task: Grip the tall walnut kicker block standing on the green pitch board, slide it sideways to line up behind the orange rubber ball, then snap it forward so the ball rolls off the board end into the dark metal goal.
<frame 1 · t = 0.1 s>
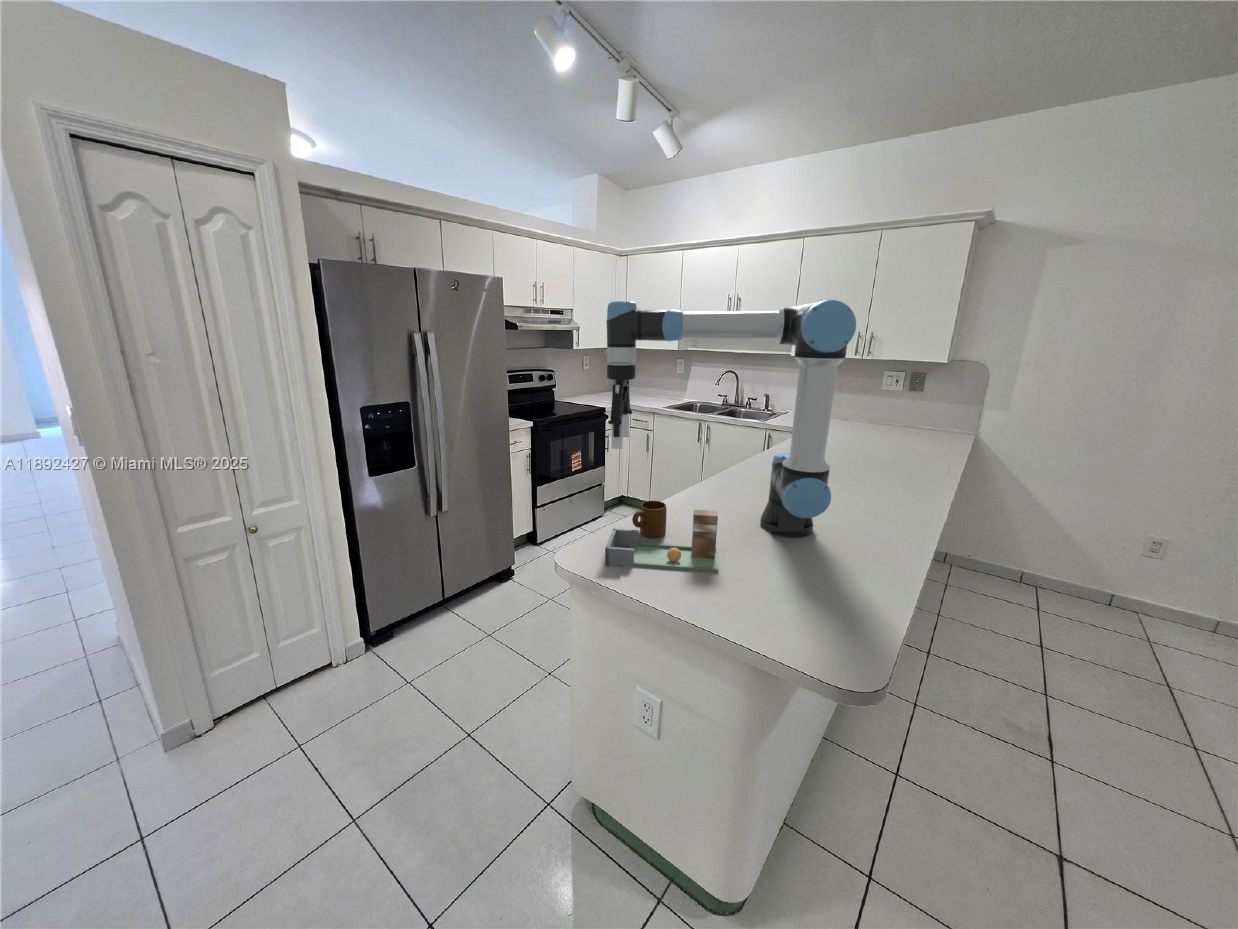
hand: (620, 442, 127), 28 cm above the worktop, fingers open, 13 cm apart
pitch: (662, 559, 122), on the worktop
mug: (647, 537, 134), on the worktop
ball: (674, 554, 119), point 2 cm above the worktop, touching pitch
kicker: (703, 554, 123), point 1 cm above the worktop, touching pitch
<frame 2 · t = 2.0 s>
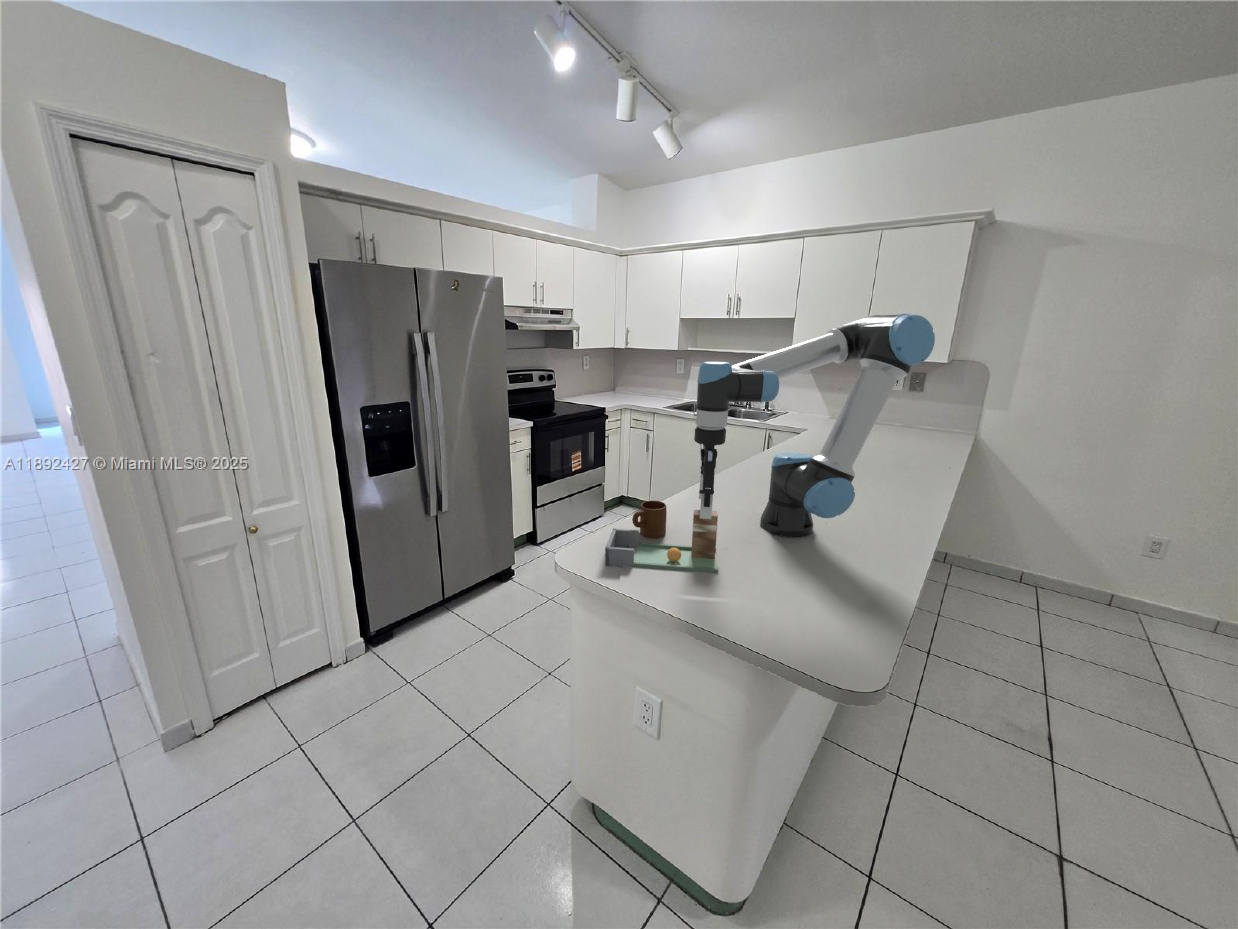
hand: (704, 508, 119), 14 cm above the worktop, fingers open, 13 cm apart
nothing on the worktop moved.
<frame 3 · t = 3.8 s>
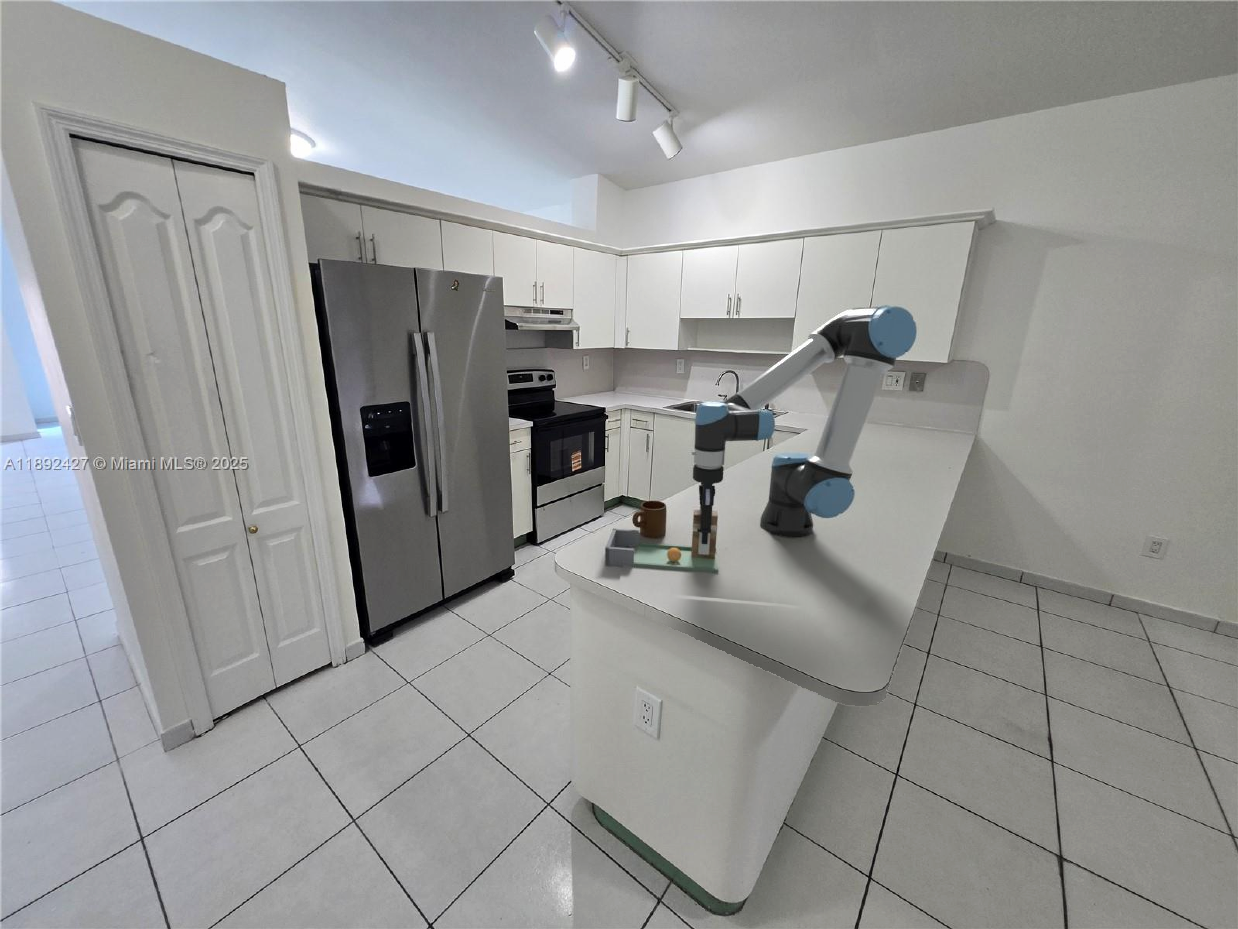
hand: (703, 549, 122), 2 cm above the worktop, fingers closed on kicker, 4 cm apart
kicker: (703, 554, 123), point 1 cm above the worktop, touching gripper, pitch
everything else where it was.
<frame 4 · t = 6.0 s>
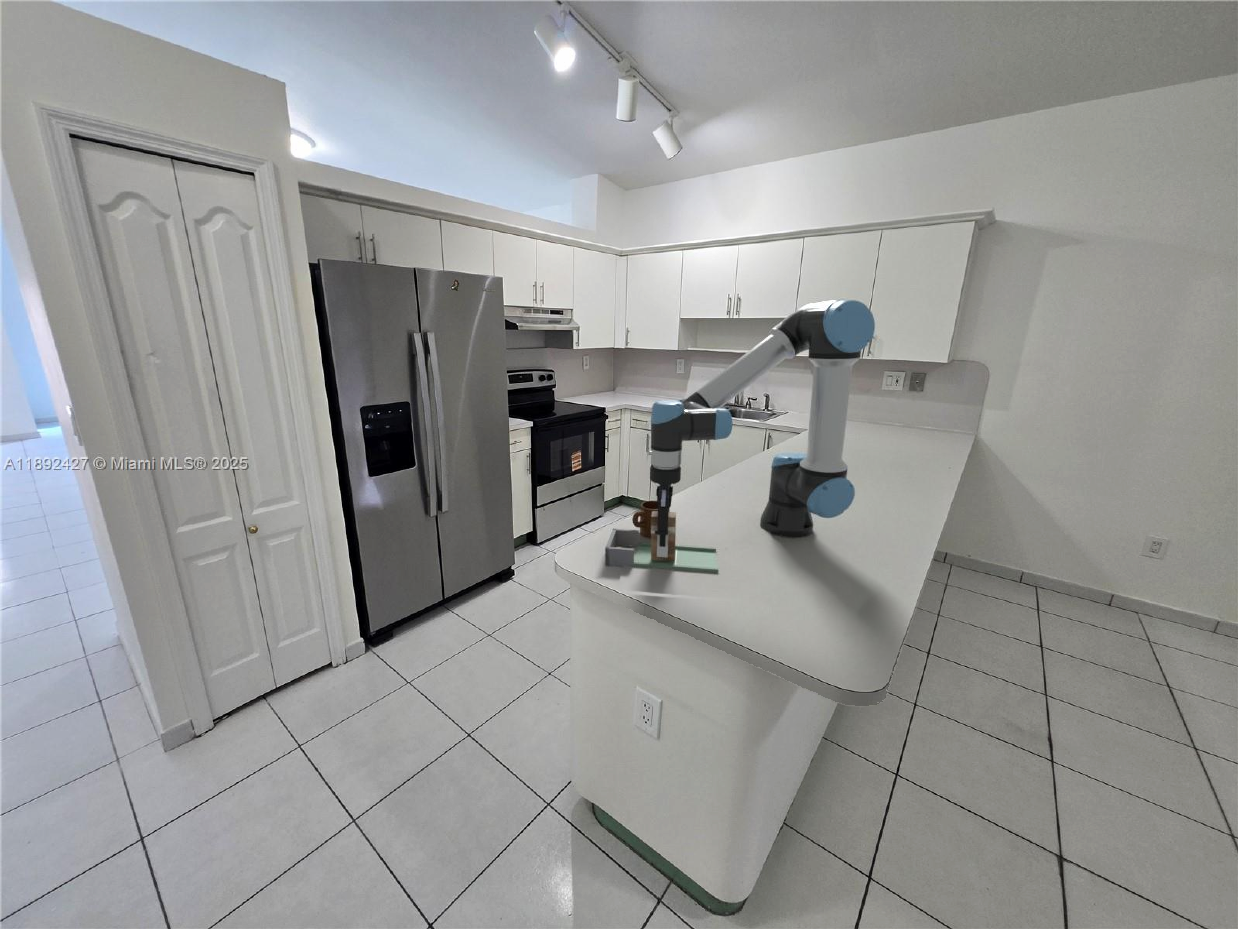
hand: (662, 552, 119), 3 cm above the worktop, fingers closed on kicker, 4 cm apart
ball: (618, 554, 120), point 2 cm above the worktop, tilted 64°
kicker: (663, 557, 119), point 1 cm above the worktop, touching gripper
everything else where it was.
when the fingers open (3 cm above the worktop, at t = 7.9 s): kicker stays where it is, resting on pitch.
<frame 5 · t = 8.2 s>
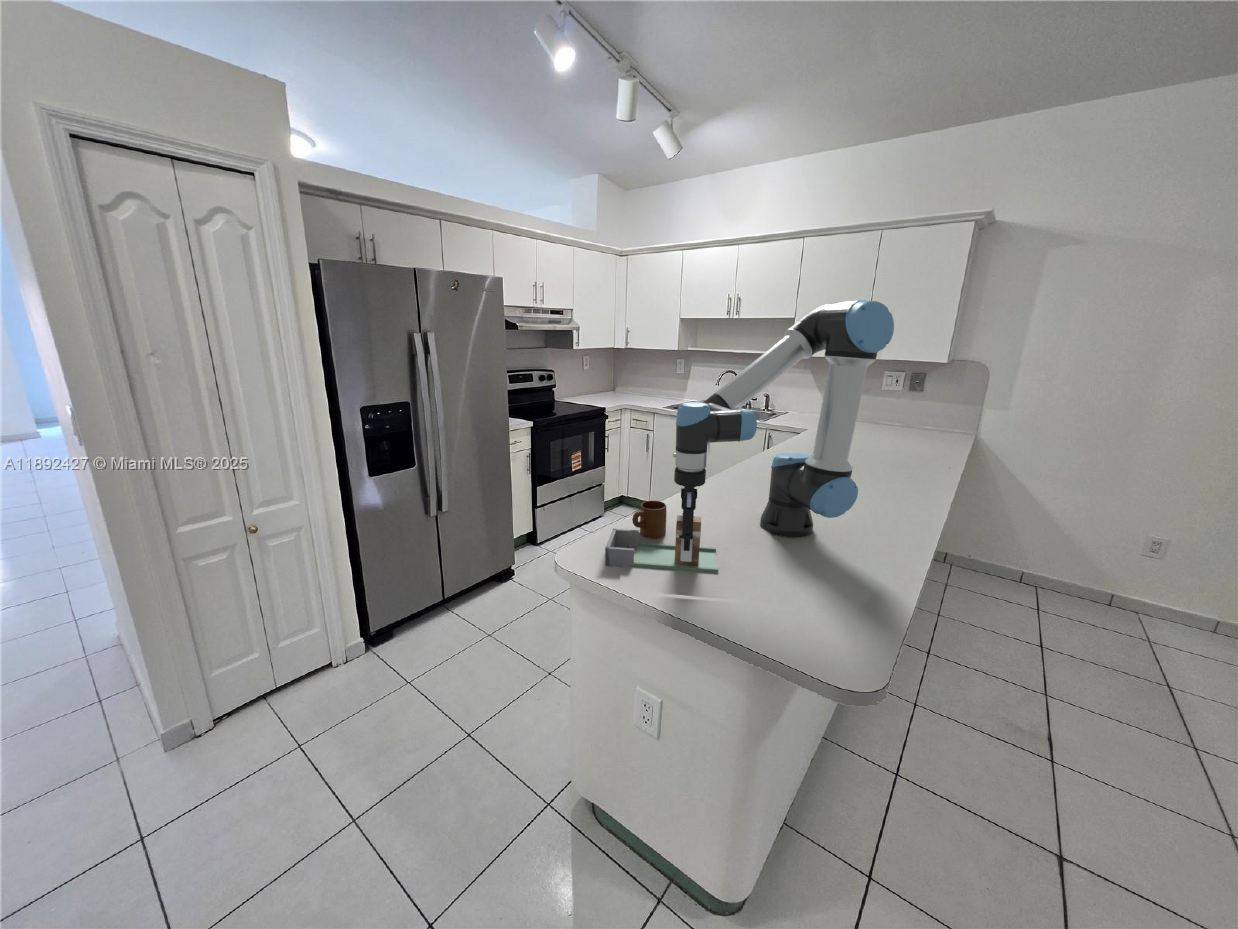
hand: (686, 552, 118), 3 cm above the worktop, fingers open, 8 cm apart
kicker: (686, 561, 119), point 1 cm above the worktop, touching pitch
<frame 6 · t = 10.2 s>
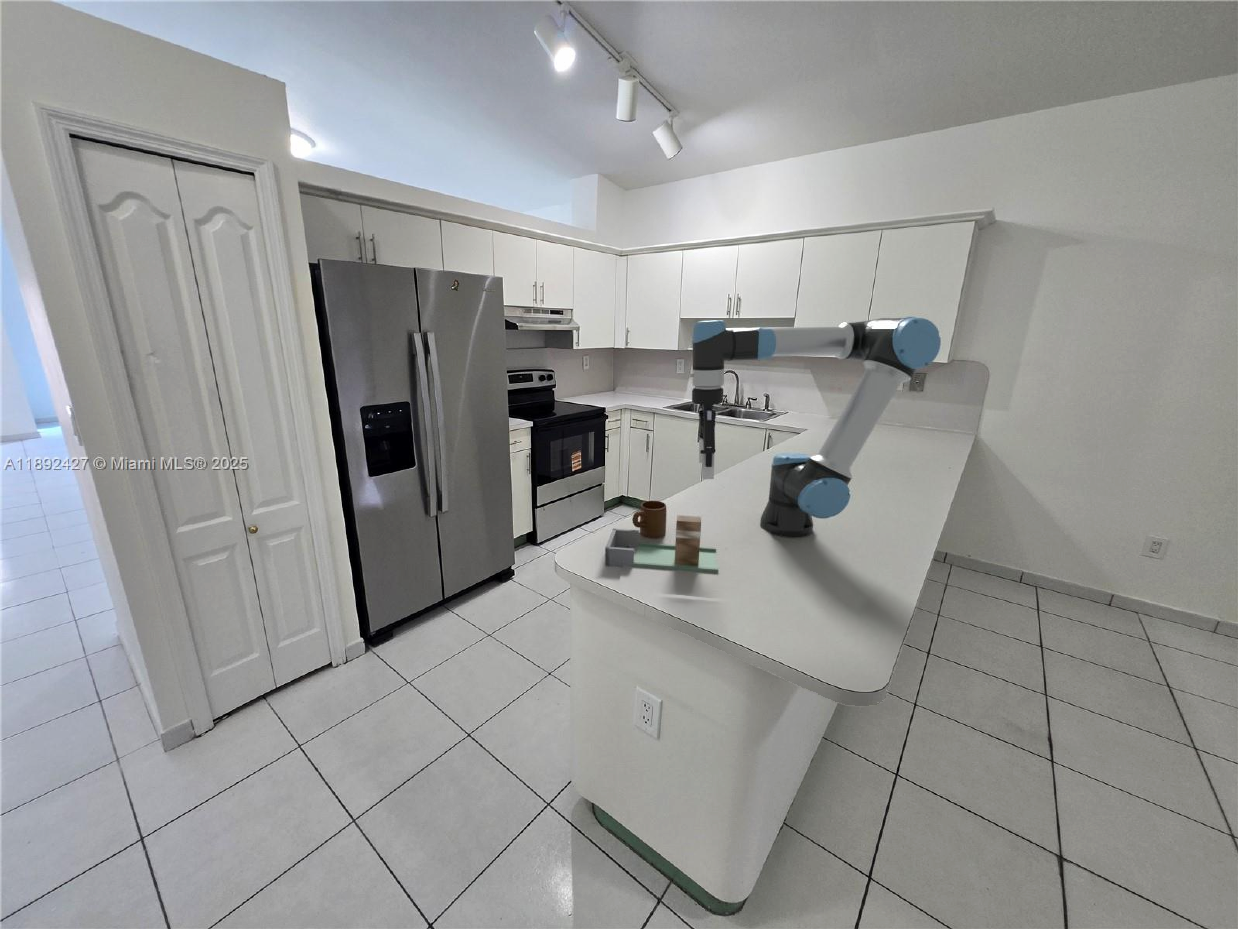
hand: (705, 470, 119), 23 cm above the worktop, fingers open, 13 cm apart
nothing on the worktop moved.
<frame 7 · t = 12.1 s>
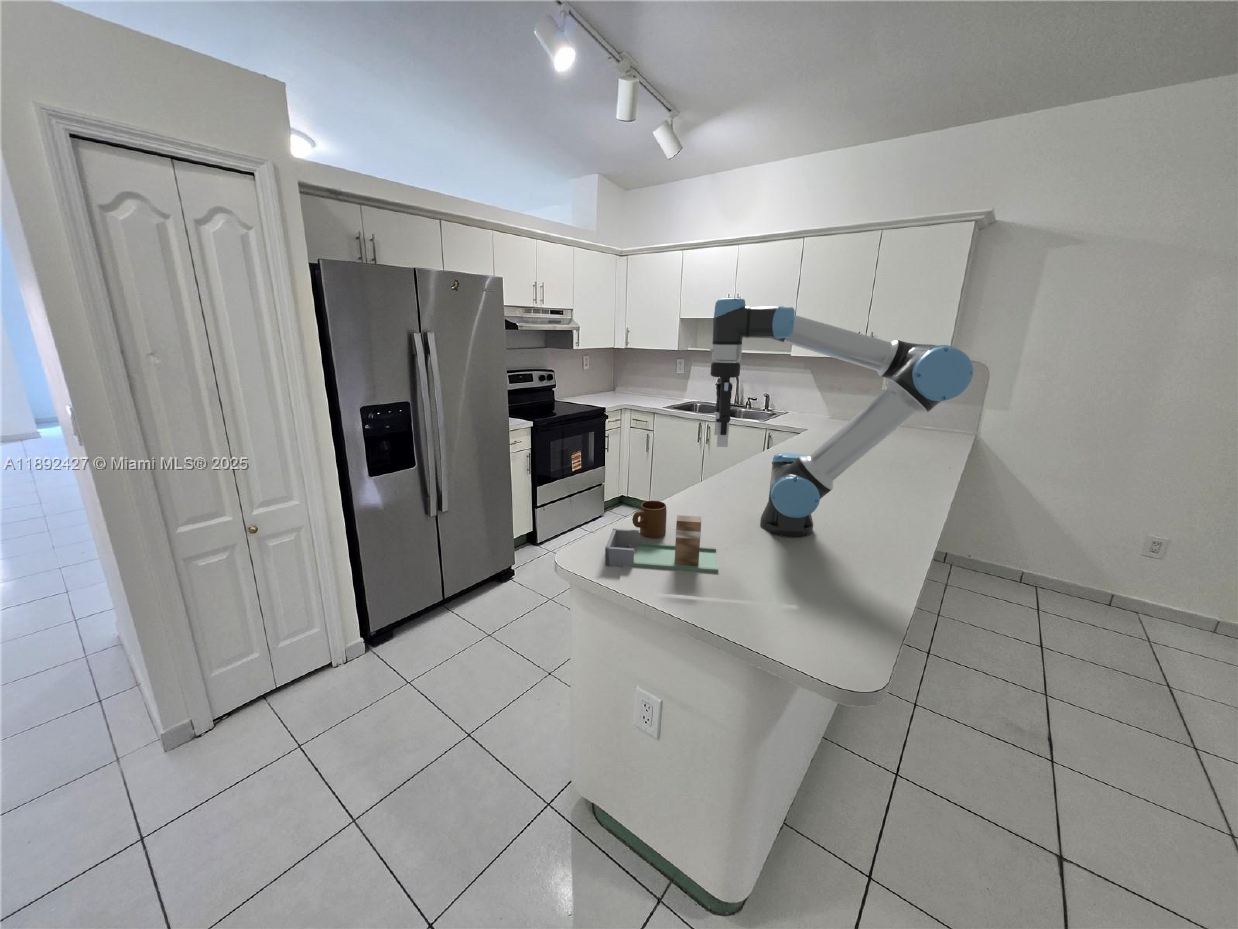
hand: (720, 440, 127), 29 cm above the worktop, fingers open, 13 cm apart
nothing on the worktop moved.
at the end: ball inside the target area (3.3 cm from its centre), point 1.8 cm above the worktop; the gripper is holding nothing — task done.
